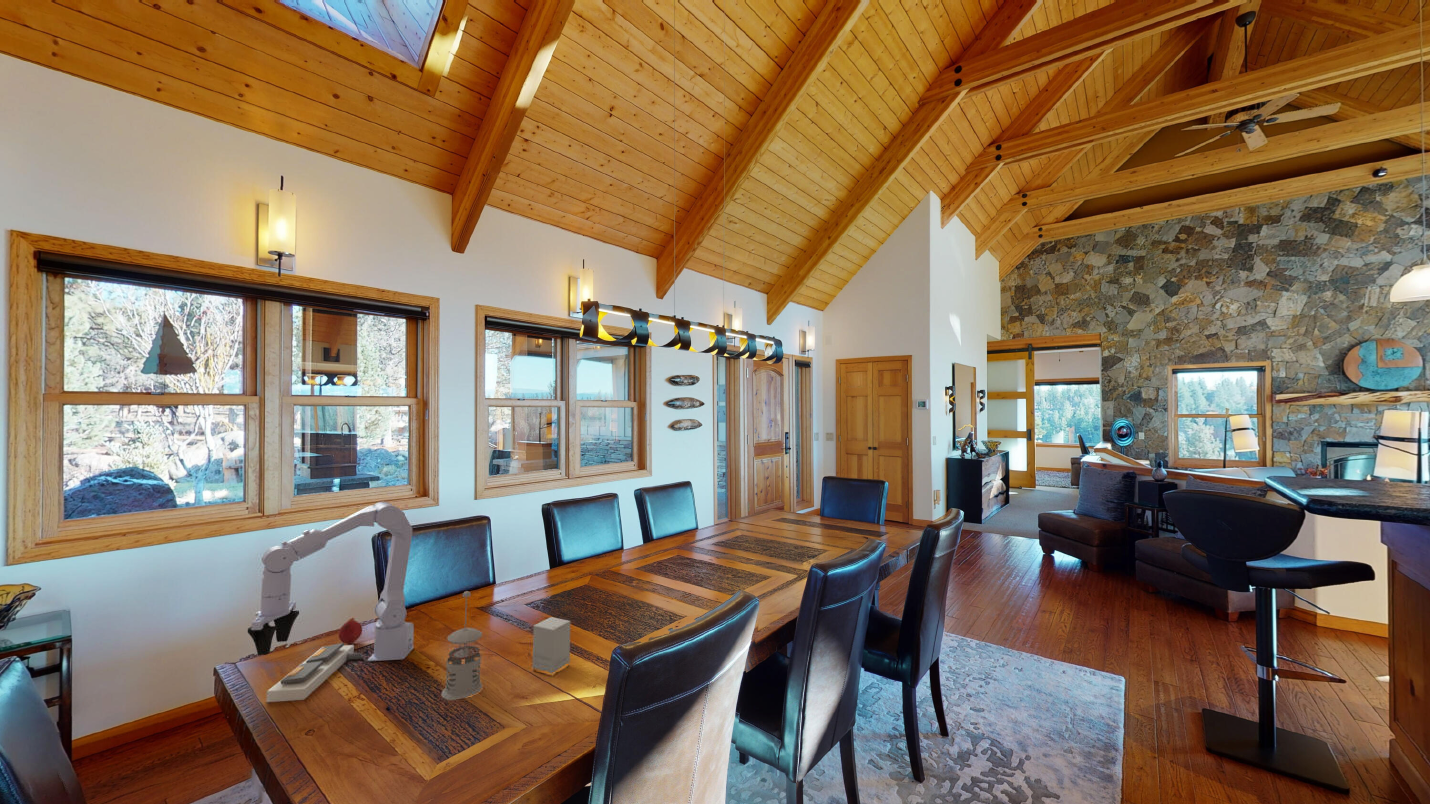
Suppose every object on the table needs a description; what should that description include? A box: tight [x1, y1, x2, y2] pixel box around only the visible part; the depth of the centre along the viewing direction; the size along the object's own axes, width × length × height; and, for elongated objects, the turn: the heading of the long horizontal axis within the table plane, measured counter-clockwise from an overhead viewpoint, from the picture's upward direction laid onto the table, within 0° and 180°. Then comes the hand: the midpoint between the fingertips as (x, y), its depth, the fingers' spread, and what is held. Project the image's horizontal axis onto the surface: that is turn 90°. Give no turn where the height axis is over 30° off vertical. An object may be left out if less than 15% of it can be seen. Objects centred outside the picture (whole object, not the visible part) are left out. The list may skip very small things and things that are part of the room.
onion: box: [338, 617, 363, 645], centre depth 158 cm, size 6×6×8 cm
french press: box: [440, 590, 483, 701], centre depth 135 cm, size 10×12×25 cm
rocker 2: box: [305, 642, 345, 663], centre depth 144 cm, size 5×9×1 cm, turn 12°
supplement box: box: [532, 616, 571, 673], centre depth 146 cm, size 7×7×13 cm
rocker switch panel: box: [265, 644, 363, 703], centre depth 139 cm, size 12×25×3 cm, turn 11°
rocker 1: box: [280, 661, 323, 684], centre depth 133 cm, size 5×9×1 cm, turn 11°
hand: (273, 647), depth 134 cm, fingers open, 7 cm apart
